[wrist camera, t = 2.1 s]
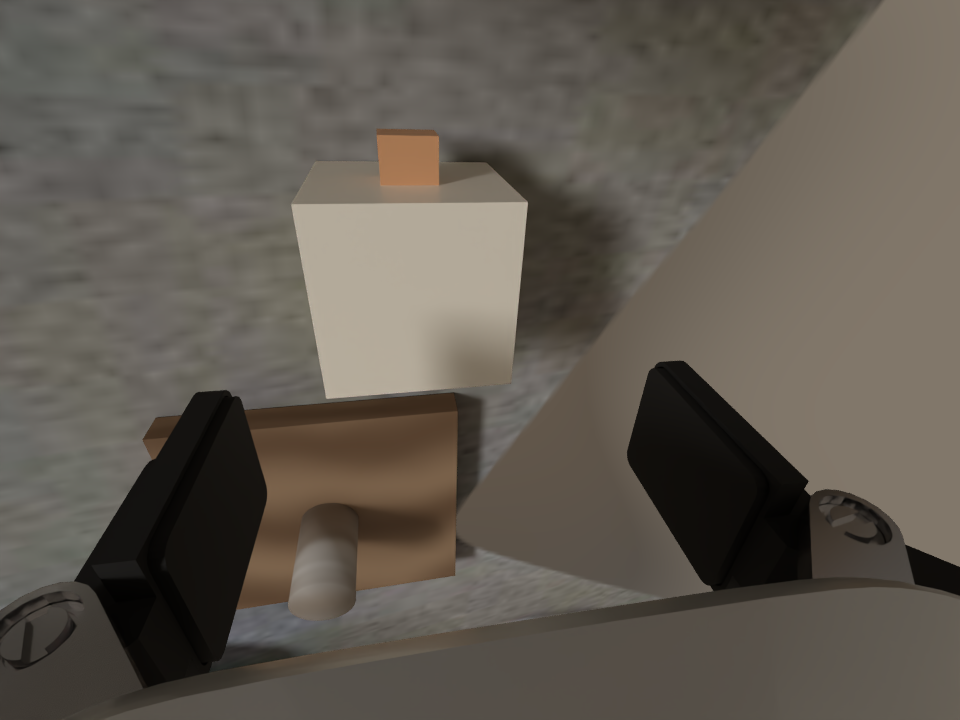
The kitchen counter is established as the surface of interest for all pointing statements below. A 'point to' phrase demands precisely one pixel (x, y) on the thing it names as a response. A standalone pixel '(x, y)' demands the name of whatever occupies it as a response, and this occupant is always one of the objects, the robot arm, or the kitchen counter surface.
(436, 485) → the post block
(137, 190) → the kitchen counter surface
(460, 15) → the kitchen counter surface
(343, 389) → the cap
